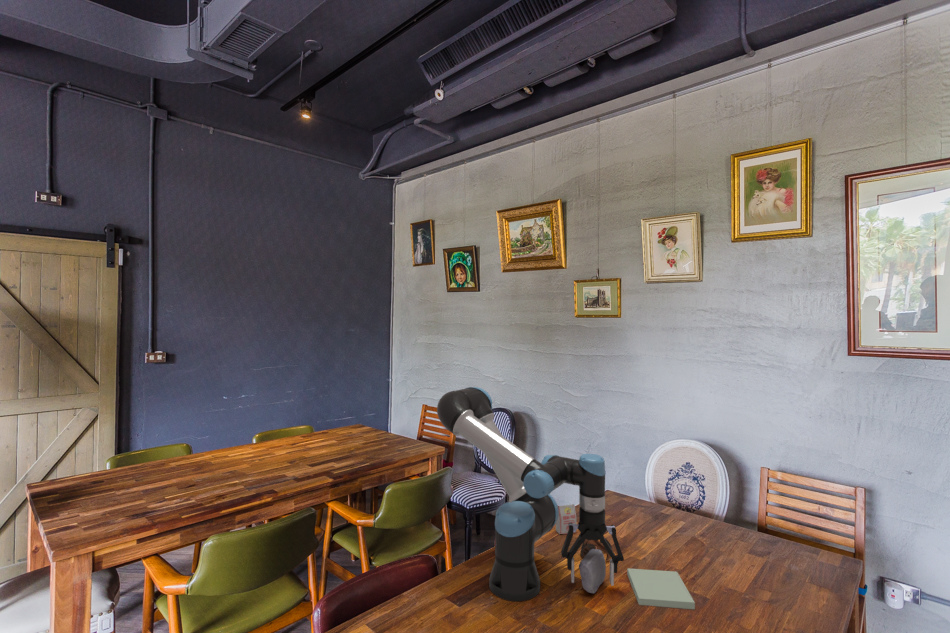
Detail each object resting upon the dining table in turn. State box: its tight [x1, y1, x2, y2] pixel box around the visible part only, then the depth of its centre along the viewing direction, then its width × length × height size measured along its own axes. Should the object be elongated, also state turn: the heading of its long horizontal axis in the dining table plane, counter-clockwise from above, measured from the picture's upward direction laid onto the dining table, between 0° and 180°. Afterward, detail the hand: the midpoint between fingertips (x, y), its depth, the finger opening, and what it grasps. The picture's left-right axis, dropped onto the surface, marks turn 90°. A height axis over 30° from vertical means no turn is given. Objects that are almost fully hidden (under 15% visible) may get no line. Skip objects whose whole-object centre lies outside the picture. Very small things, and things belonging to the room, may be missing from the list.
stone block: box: [578, 548, 607, 594], centre depth 139 cm, size 12×5×10 cm, turn 144°
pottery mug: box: [579, 537, 613, 562], centre depth 156 cm, size 12×9×8 cm
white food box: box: [555, 503, 577, 535], centre depth 177 cm, size 4×7×10 cm, turn 106°
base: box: [626, 567, 696, 610], centre depth 138 cm, size 15×16×2 cm
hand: (592, 581), depth 139 cm, fingers open, 11 cm apart
